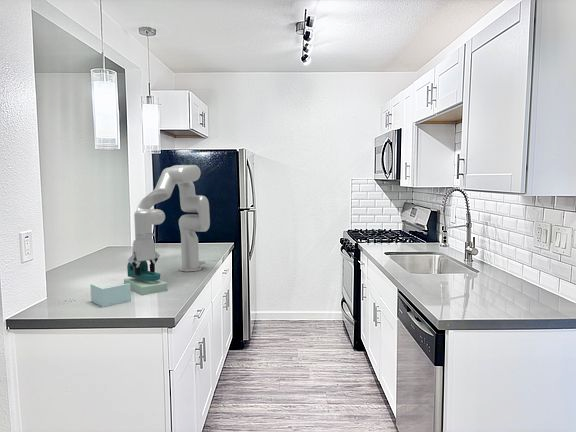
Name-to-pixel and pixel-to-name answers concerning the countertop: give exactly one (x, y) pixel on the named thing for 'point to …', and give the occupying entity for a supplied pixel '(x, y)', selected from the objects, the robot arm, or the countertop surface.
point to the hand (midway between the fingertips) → (145, 273)
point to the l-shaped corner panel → (110, 294)
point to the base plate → (146, 286)
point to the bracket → (142, 272)
